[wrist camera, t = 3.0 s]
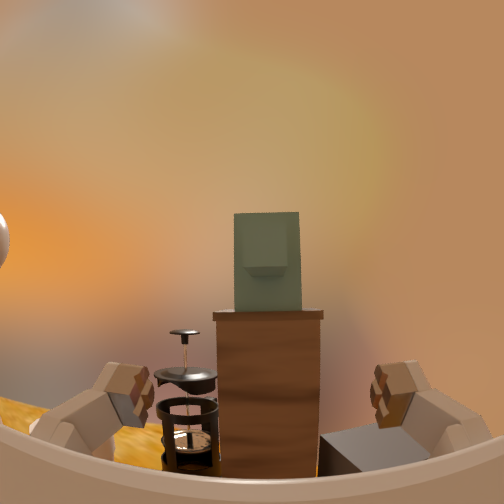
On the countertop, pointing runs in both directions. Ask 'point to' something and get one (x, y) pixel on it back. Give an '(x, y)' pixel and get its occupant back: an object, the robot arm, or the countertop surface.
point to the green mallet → (267, 262)
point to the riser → (367, 450)
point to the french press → (190, 418)
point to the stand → (268, 392)
